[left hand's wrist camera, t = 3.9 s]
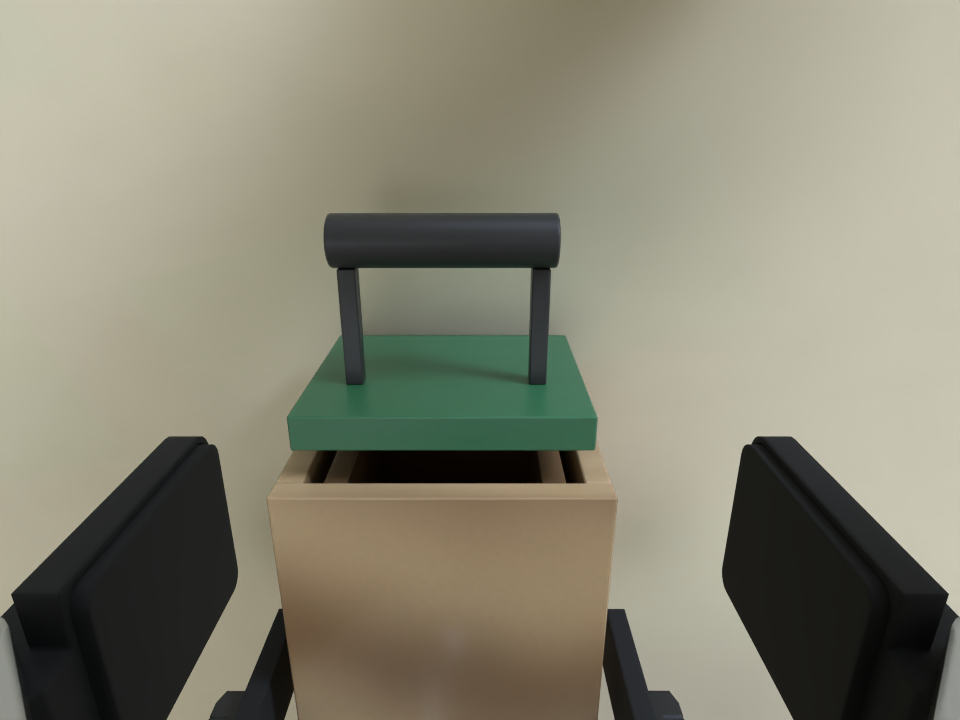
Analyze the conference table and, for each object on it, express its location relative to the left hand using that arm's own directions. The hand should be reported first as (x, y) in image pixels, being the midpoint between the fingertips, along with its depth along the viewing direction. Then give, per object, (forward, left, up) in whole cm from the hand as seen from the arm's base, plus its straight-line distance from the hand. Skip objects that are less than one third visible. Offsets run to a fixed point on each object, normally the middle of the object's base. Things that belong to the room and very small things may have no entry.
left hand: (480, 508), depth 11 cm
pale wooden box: (+9, -7, -17) cm, 20 cm away
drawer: (+4, -4, -16) cm, 17 cm away
